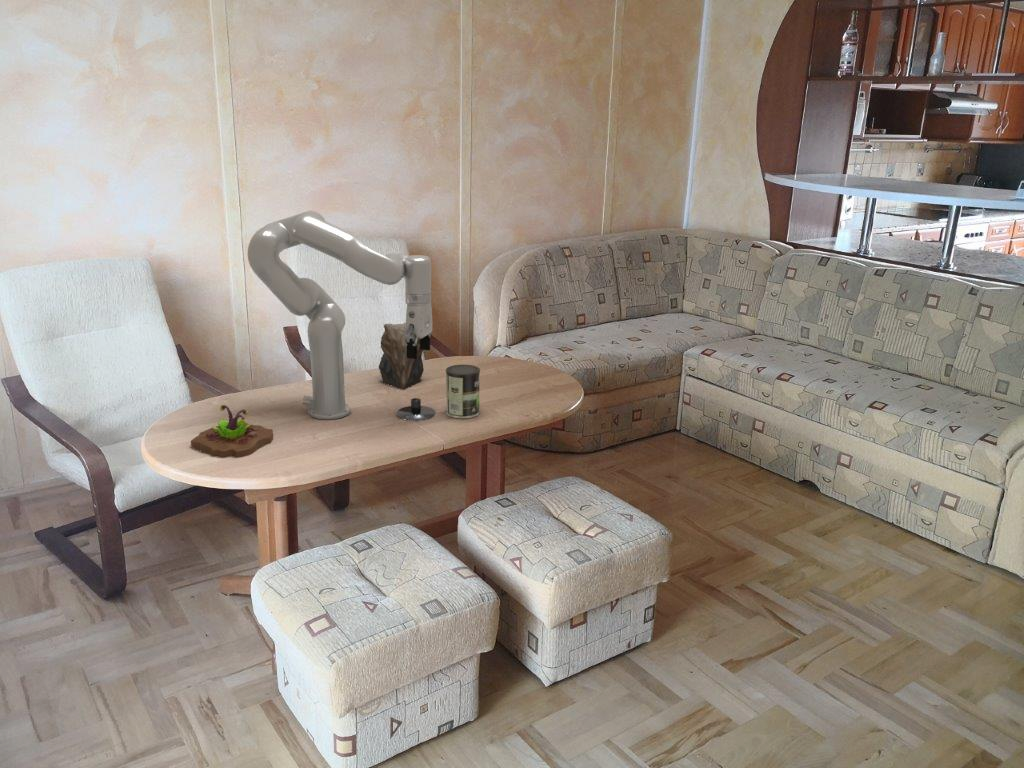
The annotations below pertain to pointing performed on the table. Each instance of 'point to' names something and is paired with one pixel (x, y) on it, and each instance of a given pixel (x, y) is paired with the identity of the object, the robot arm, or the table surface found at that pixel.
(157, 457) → the table surface
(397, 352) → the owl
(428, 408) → the lid
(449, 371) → the coffee can
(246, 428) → the plant
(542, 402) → the table surface
